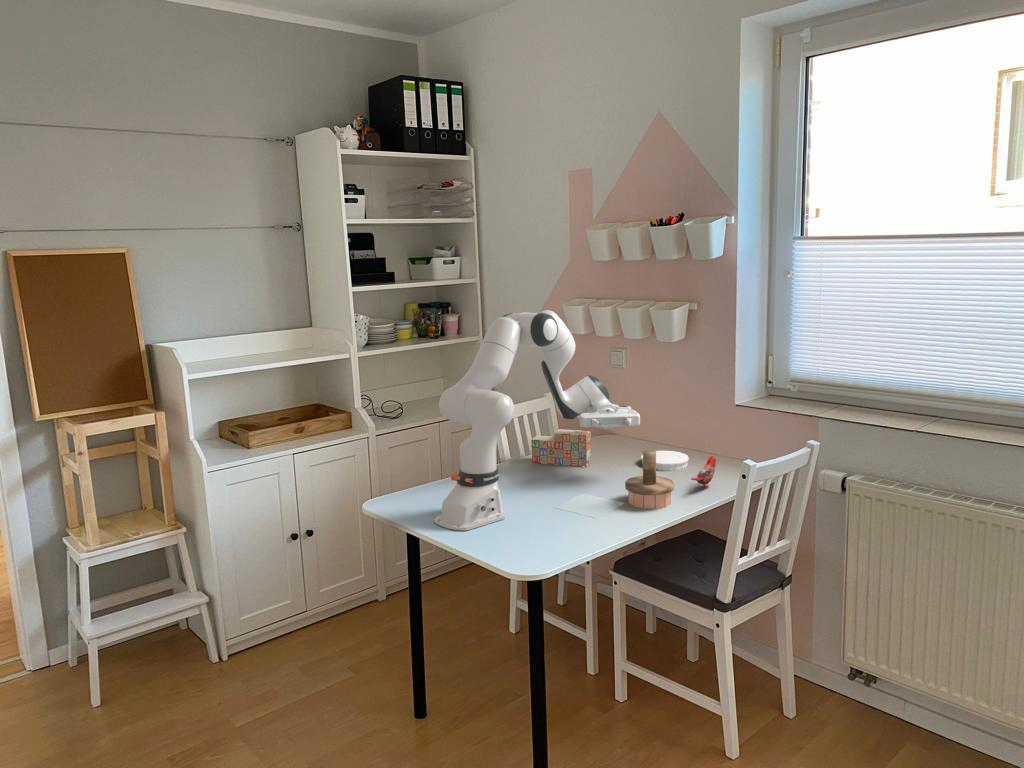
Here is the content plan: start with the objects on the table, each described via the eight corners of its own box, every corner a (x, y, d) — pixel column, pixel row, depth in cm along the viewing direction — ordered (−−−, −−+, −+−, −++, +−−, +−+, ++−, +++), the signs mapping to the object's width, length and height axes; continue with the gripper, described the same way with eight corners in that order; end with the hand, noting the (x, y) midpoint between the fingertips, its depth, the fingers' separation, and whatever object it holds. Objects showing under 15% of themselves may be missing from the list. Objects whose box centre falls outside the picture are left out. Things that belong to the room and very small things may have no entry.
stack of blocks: (531, 463, 290) (530, 431, 288) (537, 458, 296) (536, 427, 294) (587, 467, 283) (586, 434, 280) (591, 462, 288) (590, 430, 286)
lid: (690, 457, 292) (690, 449, 291) (687, 472, 273) (687, 464, 272) (644, 455, 296) (644, 447, 296) (638, 470, 277) (638, 462, 277)
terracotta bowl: (657, 512, 234) (657, 497, 233) (620, 504, 242) (620, 489, 241) (678, 501, 244) (678, 485, 243) (642, 493, 252) (642, 478, 251)
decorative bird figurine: (719, 483, 259) (719, 454, 257) (695, 498, 246) (695, 468, 244) (711, 482, 261) (711, 453, 259) (686, 496, 247) (687, 466, 246)
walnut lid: (658, 498, 232) (658, 461, 230) (616, 489, 241) (615, 453, 239) (682, 485, 243) (683, 450, 241) (641, 477, 253) (641, 443, 250)
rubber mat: (596, 519, 231) (596, 518, 231) (553, 508, 241) (553, 507, 241) (625, 504, 242) (625, 503, 242) (583, 494, 253) (583, 493, 253)
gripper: (575, 407, 266) (582, 416, 253) (634, 406, 268) (644, 414, 254) (576, 425, 267) (582, 434, 254) (634, 423, 269) (643, 432, 255)
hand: (613, 424), depth 254 cm, fingers open, 8 cm apart
